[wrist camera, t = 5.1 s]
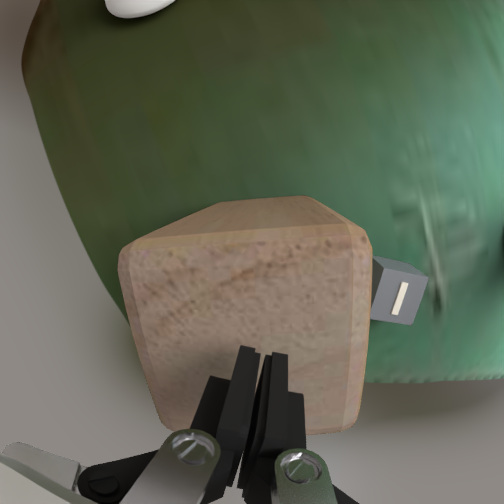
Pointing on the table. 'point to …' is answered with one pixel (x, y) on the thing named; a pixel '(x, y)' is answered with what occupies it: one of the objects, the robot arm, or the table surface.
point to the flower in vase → (135, 7)
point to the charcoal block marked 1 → (395, 290)
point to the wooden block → (252, 304)
